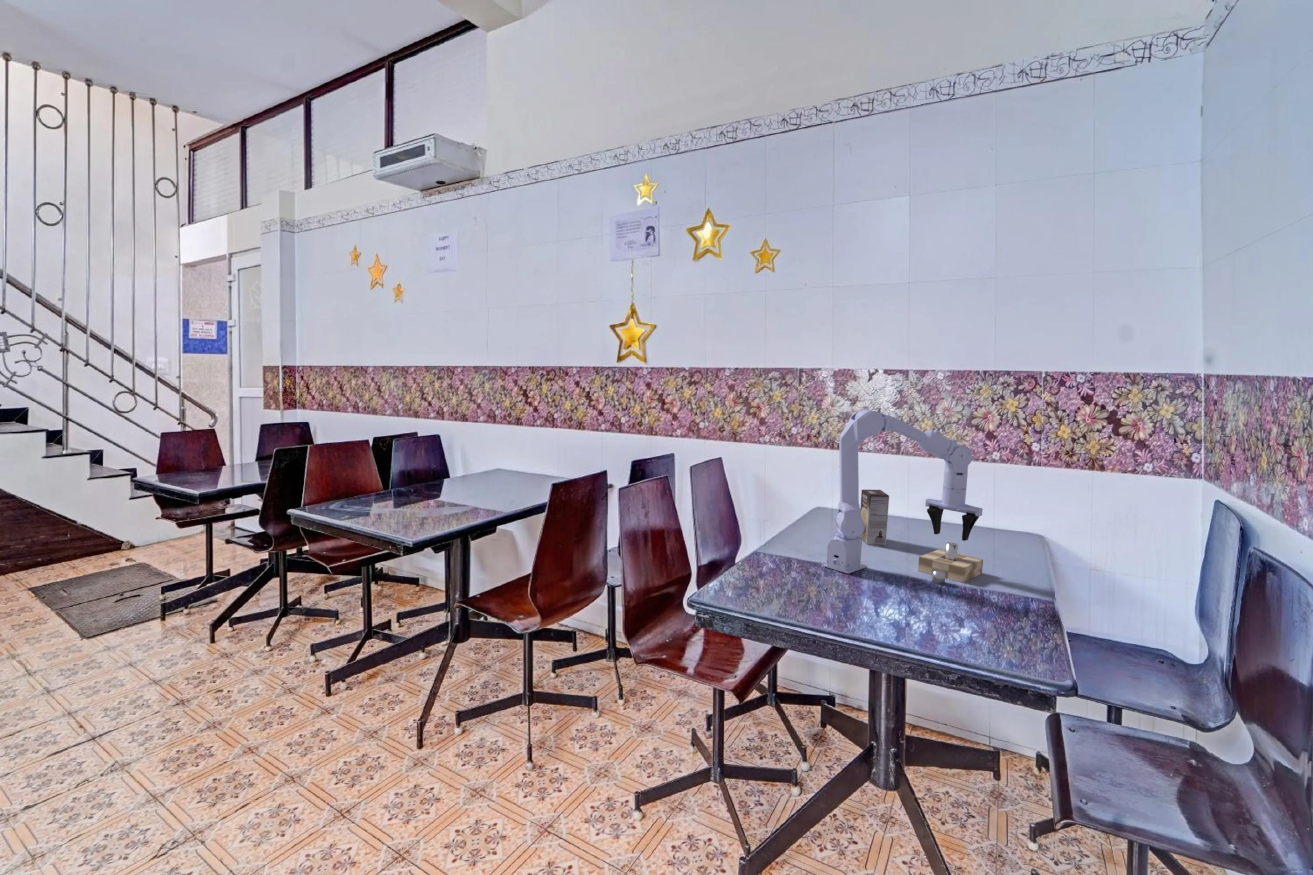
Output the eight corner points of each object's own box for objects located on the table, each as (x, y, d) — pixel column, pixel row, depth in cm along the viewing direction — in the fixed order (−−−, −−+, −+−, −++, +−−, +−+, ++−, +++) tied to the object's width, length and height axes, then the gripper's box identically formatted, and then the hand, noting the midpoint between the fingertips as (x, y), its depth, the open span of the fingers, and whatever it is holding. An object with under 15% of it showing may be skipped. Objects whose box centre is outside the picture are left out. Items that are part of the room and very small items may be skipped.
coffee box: (857, 536, 206) (860, 488, 204) (877, 537, 206) (880, 489, 204) (866, 544, 197) (869, 494, 195) (887, 545, 196) (890, 495, 195)
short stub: (941, 585, 161) (942, 574, 160) (929, 582, 163) (930, 571, 163) (946, 583, 163) (947, 571, 162) (935, 579, 165) (936, 568, 164)
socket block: (962, 582, 163) (963, 567, 162) (918, 570, 172) (919, 556, 172) (981, 573, 171) (983, 559, 170) (938, 562, 180) (939, 548, 179)
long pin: (952, 574, 169) (954, 546, 168) (941, 571, 172) (943, 543, 171) (958, 572, 171) (960, 544, 170) (947, 569, 173) (949, 541, 172)
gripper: (988, 490, 166) (984, 540, 168) (935, 482, 177) (931, 528, 179) (977, 493, 161) (973, 544, 163) (923, 484, 172) (919, 532, 174)
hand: (950, 536), depth 170 cm, fingers open, 7 cm apart
